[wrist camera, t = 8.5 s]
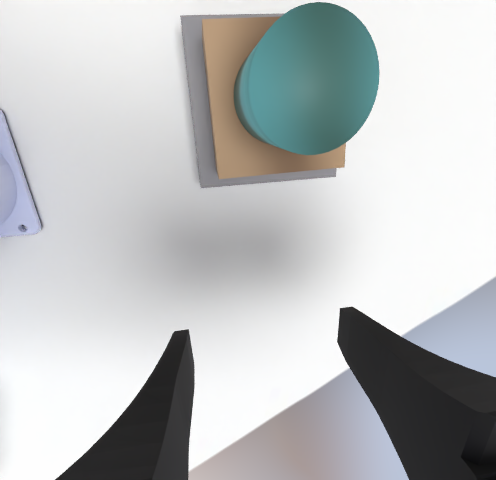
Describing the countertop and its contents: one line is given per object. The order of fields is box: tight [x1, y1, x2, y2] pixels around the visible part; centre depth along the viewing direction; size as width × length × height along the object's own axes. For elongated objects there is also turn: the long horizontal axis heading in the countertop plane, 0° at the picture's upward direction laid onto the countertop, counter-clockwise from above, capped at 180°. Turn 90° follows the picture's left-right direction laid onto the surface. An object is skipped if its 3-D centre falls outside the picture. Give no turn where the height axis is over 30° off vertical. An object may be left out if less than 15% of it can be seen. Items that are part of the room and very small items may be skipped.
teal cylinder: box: [234, 2, 379, 155], centre depth 12 cm, size 4×4×5 cm
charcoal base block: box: [180, 14, 336, 188], centre depth 19 cm, size 9×9×3 cm
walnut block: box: [202, 16, 346, 179], centre depth 16 cm, size 7×7×3 cm
